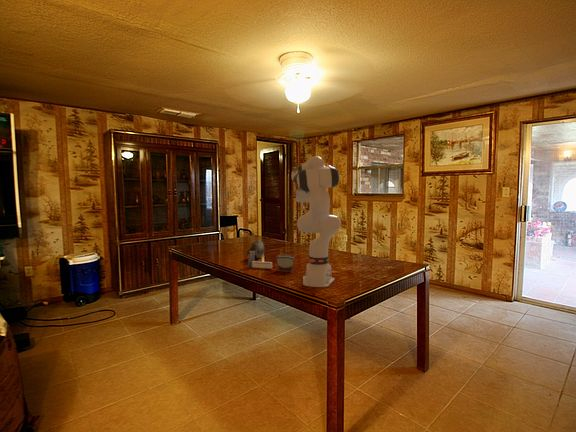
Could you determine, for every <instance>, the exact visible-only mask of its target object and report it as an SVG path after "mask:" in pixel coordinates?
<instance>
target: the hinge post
mask: <svg viewBox="0 0 576 432" xmlns="http://www.w3.org/2000/svg"><path fill="white" fill-rule="evenodd" d="M247 255H248V254H247ZM247 257H248V258H247V259H248V263H247V264H248V267H247V268H248V269H250V268H251V269H252V268H253V267H252V255H251V254H249V255H248V256H247Z"/></svg>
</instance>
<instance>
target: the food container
mask: <svg viewBox="0 0 576 432" xmlns="http://www.w3.org/2000/svg"><path fill="white" fill-rule="evenodd" d="M275 259H276V261H277V263H276V264H277V270H278V272H291V273H292V272H293V266H294V260H295V257H294V255H292V254H278V255H276V258H275Z"/></svg>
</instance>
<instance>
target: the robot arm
mask: <svg viewBox="0 0 576 432" xmlns="http://www.w3.org/2000/svg"><path fill="white" fill-rule="evenodd" d="M340 178H341V177H340V173H339V170H338V168H336V167H335V166H331V164H328V165H326V163H325V160H324V159H323V158H322V157H320V156H319V155H318V156H317V155H314V156H310V157H309V158H308V159H307V161H306V162H304V163H303V164H300V165H298V166H296V167H294V168H293V170H292V171H291V180H292V182H293V183H294V184H297V185H298V188H296V189H295V190H294V193H295V202H296V203H300V205H301V207H302V209H303V210H306V206H305V205H304V203H309V210H308V211H307V212H306V213H304V214H302V215H300V216H299V217H298V219H297V221H296V226H297V229H298V230H299V232H301V233H305V234H320V235H319V236H318V237H316V238H314V239H313V240H311V241H310V242H309V250H308V251H309V252H308V253H309V255H308V258H307V259H308V263H307V264H306V271H305V273H304V276H302V285H303V286H306V287H312V288H327V287H329V286H330V285H331V284H332V283H333V282H334V281H335V278H334V277H332V266H331V264H330V263H329V262H330V261H329V259H330V258H329V257H330V256H329V245H330V241H331V239H332V237H334V235H335V234H336V233H338V232H339V231H340V229H341V227H342V222H341V219H340V217H339V216H338V215H333V214H330V209H331V198H330V193H329V192H328V190H327V189H328V188H335V187H337V186H338V185H339V184H340V183H339V182H340V180H341V179H340Z"/></svg>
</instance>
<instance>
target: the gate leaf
mask: <svg viewBox="0 0 576 432" xmlns="http://www.w3.org/2000/svg"><path fill="white" fill-rule="evenodd" d="M252 268H257V269H258V268H259V269H273V262H272V261H259V260H258V261H256V260H255V261H253V262H252Z"/></svg>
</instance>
